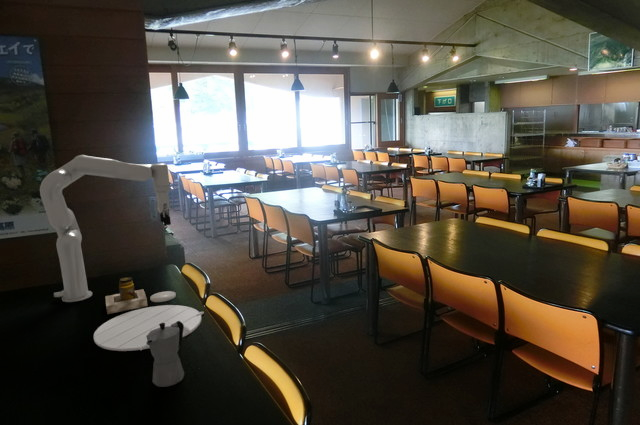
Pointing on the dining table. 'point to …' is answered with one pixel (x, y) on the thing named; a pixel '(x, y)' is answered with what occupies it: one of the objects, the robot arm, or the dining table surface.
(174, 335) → the coffeepot
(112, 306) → the holder
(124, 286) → the condiment
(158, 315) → the lazy susan
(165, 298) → the coaster
